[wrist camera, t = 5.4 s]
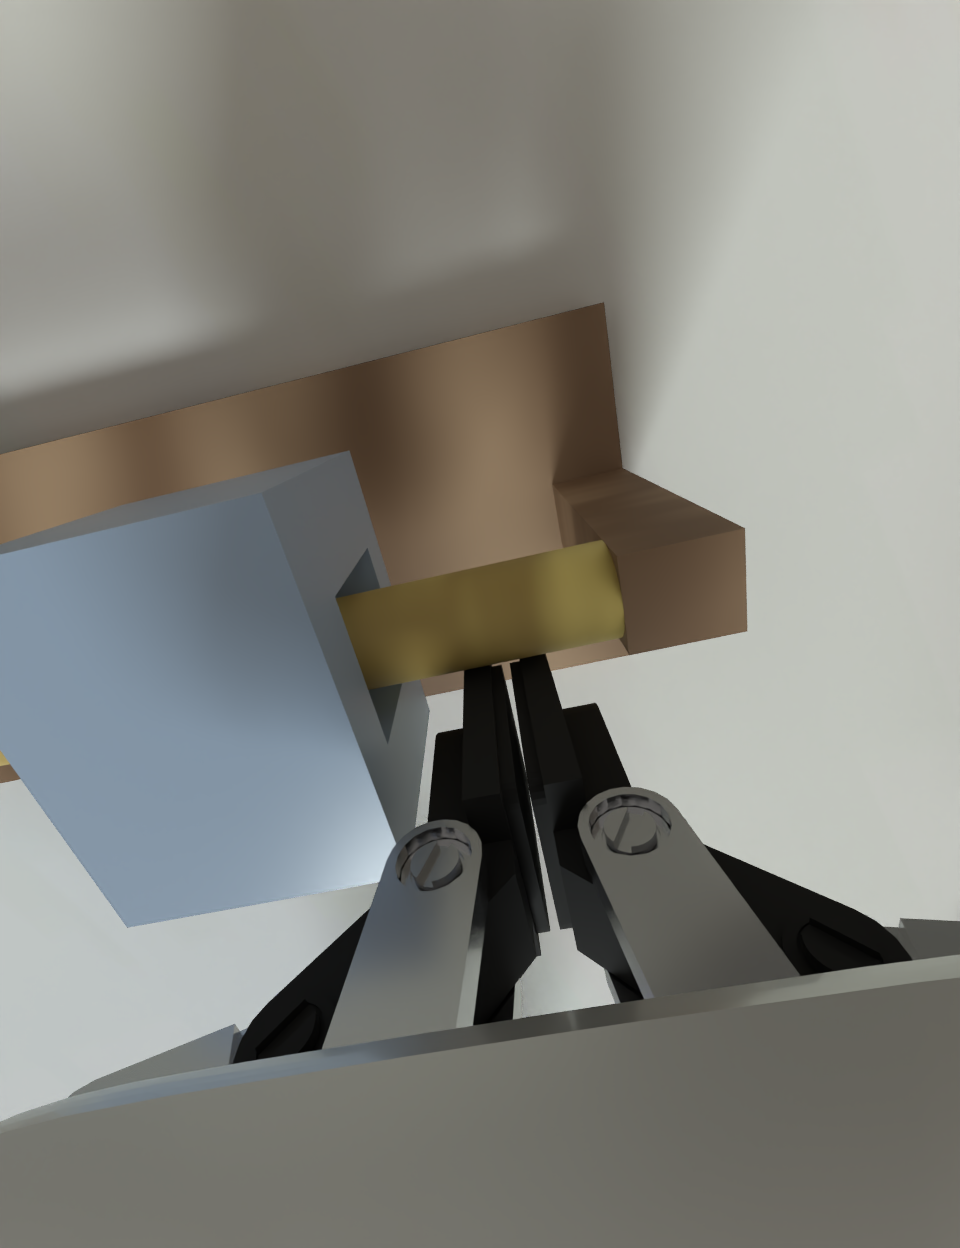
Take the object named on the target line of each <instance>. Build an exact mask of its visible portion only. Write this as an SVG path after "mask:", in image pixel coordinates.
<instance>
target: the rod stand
mask: <svg viewBox="0 0 960 1248" xmlns="http://www.w3.org/2000/svg"><path fill="white" fill-rule="evenodd" d="M345 451H350V454H351V457H352V460H353V464H354V467H355V470H356V473H357V477H358V480H359V483H360V486H361V490H362V493H363V496H364V499H365V503H366V506H367V509H368V512H369V516H370V519H371V522H372V525H373V529H374V532H375V535H376V538H377V542H378V545H379V548H380V551H381V554H382V558H383V561H384V564H385V567H386V571H387V574H388V577H389V580H390V584H391V586H389V587H384V588H380V589H375V590H371V591H366V592H362V593H357V594H353V595H348V596H343V597H339V598H336V601H337V604H338V607H339V609H340V612H341V615H342V618H343V621H344V623H345V626H346V629H347V632H348V635H349V637H350V640H351V643H352V646H353V649H354V652H355V654H356V657H357V660H358V663H359V666H360V668H361V671H362V674H363V677H364V680H365V682H366V685H367V688H368V690H371V689H376V688H381V687H386V686H391V685H396V684H401V683H405V682H410V681H415V680H420V681H421V684H422V688H423V691H424V694H425V697H426V696H431V695H435V694H440V693H445V692H450V691H455V690H460V689H464V670H468V669H473V668H478V667H483V666H488V665H492V666H497V665H502V668H503V672H504V677H505V680H509V679H512V676H511V669H510V663H512V662H517V661H520V660H519V659H522V658H526V657H531V656H536V655H541V654H546V656H547V660H548V663H549V667H550V670H551V671H553V670H558V669H563V668H568V667H573V666H578V665H583V664H587V663H592V662H597V661H602V660H607V659H612V658H617V657H622V656H627V655H633V654H637V653H642V652H647V651H652V650H657V649H662V648H667V647H672V646H677V645H682V644H687V643H691V642H696V641H701V640H706V639H711V638H716V637H721V636H726V635H731V634H736V633H740V632H745V631H747V599H746V555H745V528H743V527H741V526H739V525H737V524H735V523H733V522H731V521H729V520H727V519H725V518H723V517H721V516H719V515H717V514H715V513H713V512H711V511H709V510H707V509H705V508H703V507H700V506H698V505H696V504H694V503H692V502H690V501H688V500H686V499H684V498H682V497H680V496H678V495H676V494H674V493H672V492H670V491H668V490H666V489H664V488H662V487H660V486H658V485H656V484H654V483H652V482H650V481H648V480H646V479H644V478H641V477H639V476H637V475H635V474H633V473H631V472H629V471H627V470H625V469H623V468H622V459H621V450H620V441H619V432H618V423H617V414H616V406H615V397H614V388H613V379H612V370H611V361H610V352H609V343H608V334H607V325H606V316H605V307H604V302H603V303H599V304H595V305H592V306H588V307H584V308H580V309H576V310H572V311H568V312H564V313H560V314H556V315H552V316H548V317H544V318H540V319H536V320H532V321H528V322H524V323H520V324H516V325H512V326H508V327H504V328H500V329H496V330H492V331H488V332H484V333H480V334H476V335H472V336H468V337H464V338H460V339H457V340H453V341H449V342H445V343H441V344H437V345H433V346H429V347H425V348H421V349H417V350H413V351H409V352H405V353H401V354H397V355H393V356H389V357H385V358H381V359H377V360H373V361H369V362H365V363H361V364H357V365H353V366H349V367H345V368H341V369H337V370H333V371H329V372H325V373H321V374H318V375H314V376H310V377H306V378H302V379H298V380H294V381H290V382H286V383H282V384H278V385H274V386H270V387H266V388H262V389H258V390H254V391H250V392H246V393H242V394H238V395H234V396H230V397H226V398H222V399H218V400H214V401H210V402H206V403H202V404H198V405H194V406H190V407H186V408H182V409H179V410H175V411H171V412H167V413H163V414H159V415H155V416H151V417H147V418H143V419H139V420H135V421H131V422H127V423H123V424H119V425H115V426H111V427H107V428H103V429H99V430H95V431H91V432H87V433H83V434H79V435H75V436H71V437H67V438H63V439H59V440H55V441H51V442H47V443H43V444H40V445H36V446H32V447H28V448H24V449H20V450H16V451H12V452H8V453H4V454H0V544H3V543H6V542H9V541H12V540H15V539H18V538H22V537H25V536H28V535H31V534H34V533H37V532H40V531H43V530H46V529H49V528H53V527H56V526H59V525H62V524H65V523H68V522H71V521H74V520H77V519H80V518H84V517H87V516H90V515H93V514H96V513H99V512H102V511H105V510H108V509H111V508H114V507H118V506H121V505H124V504H129V503H133V502H137V501H141V500H145V499H149V498H154V497H158V496H162V495H166V494H170V493H174V492H179V491H183V490H187V489H191V488H195V487H199V486H204V485H208V484H212V483H216V482H220V481H224V480H229V479H233V478H237V477H241V476H245V475H249V474H253V473H258V472H262V471H266V470H270V469H274V468H278V467H283V466H287V465H291V464H295V463H299V462H303V461H308V460H312V459H316V458H320V457H324V456H328V455H333V454H337V453H341V452H345ZM19 779H20V777H19V776H18V774H17V773H16V772H15V770H14V769H13V767H12V766H11V765H10V763H9V762H8V760H7V759H6V758H5V756H4V755H3V753H2V752H1V751H0V783H4V782H9V781H14V780H19Z"/></svg>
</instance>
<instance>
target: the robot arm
mask: <svg viewBox="0 0 960 1248" xmlns="http://www.w3.org/2000/svg"><path fill="white" fill-rule="evenodd" d="M519 660H520V661H517V662H512V663H510V669H511V676H512V682H513V689H514V696H515V702H516V709H517V715H518V722H519V729H520V735H521V742H522V748H523V755H524V762H525V766H524V762H523V757H522V753H521V748H520V744H519V739H518V735H517V730H516V726H515V721H514V717H513V712H512V708H511V704H510V699H509V695H508V690H507V686H506V681H505V677H504V672H503V668H502V665H497V666H492V665H488V666H483V667H478V668H473V669H468V670H464V700H463V728H462V729H457V730H451V731H446V732H441V733H438V734H437V735H436V740H435V750H434V761H433V771H432V782H431V792H430V803H429V814H428V823H426V824H423V825H421V826H419V827H416V828H414V829H413V830H412V831H410V832H409V833H407V834H406V835H404V836H403V837H402V838H401V839H400V840H399V842H398V843H397V844H396V845H395V846H394V847H393V849H392V851H391V853H390V855H389V857H388V858H387V861H386V864H385V867H384V870H383V873H382V875H381V878H380V881H379V884H378V887H377V890H376V893H375V896H374V899H373V902H372V905H371V907H370V909H369V910H368V911H366V912H365V913H364V914H363V915H362V916H361V917H360V918H359V919H358V920H357V921H356V922H355V923H354V924H352V925H351V926H350V927H349V928H348V929H347V930H346V931H345V932H344V933H343V934H342V935H341V936H340V937H339V938H337V939H336V940H335V941H334V942H333V943H332V944H331V945H330V946H329V947H328V948H327V949H326V950H325V951H323V952H322V953H321V954H320V955H319V956H318V957H317V958H316V959H315V960H314V961H313V962H312V963H311V964H309V965H308V966H307V967H306V968H305V969H304V970H303V971H302V972H301V973H300V974H299V975H298V976H297V977H296V978H294V979H293V980H292V981H291V982H290V983H289V984H288V985H287V986H286V987H285V988H284V989H283V990H282V991H280V992H279V993H278V994H277V995H276V996H275V997H274V998H273V999H272V1000H271V1001H270V1002H269V1003H268V1004H267V1005H266V1006H265V1007H264V1008H263V1009H262V1010H261V1011H260V1013H259V1014H258V1015H257V1016H256V1017H255V1018H254V1019H253V1020H252V1022H251V1024H250V1025H249V1027H248V1028H247V1029H244V1030H242V1031H239V1029H238V1028H237V1026H236V1025H235V1024H233V1025H231V1026H228V1027H226V1028H223V1029H221V1030H218V1031H216V1032H213V1033H211V1034H208V1035H206V1036H203V1037H201V1038H198V1039H196V1040H193V1041H191V1042H188V1043H186V1044H183V1045H181V1046H178V1047H176V1048H173V1049H171V1050H168V1051H166V1052H164V1053H161V1054H159V1055H156V1056H154V1057H151V1058H149V1059H146V1060H144V1061H141V1062H139V1063H136V1064H134V1065H131V1066H129V1067H126V1068H124V1069H121V1070H119V1071H116V1072H114V1073H111V1074H109V1075H106V1076H104V1077H101V1078H99V1079H96V1080H94V1081H92V1082H91V1083H89V1084H87V1085H85V1086H84V1087H82V1088H80V1089H78V1090H77V1091H75V1092H74V1093H72V1094H71V1095H70V1096H69V1097H68V1098H66V1099H63V1100H60V1101H57V1102H54V1103H51V1104H48V1105H45V1106H41V1107H38V1108H35V1109H32V1110H29V1111H26V1112H23V1113H20V1114H17V1115H15V1116H13V1117H10V1118H8V1119H6V1120H3V1121H1V1122H0V1248H960V921H944V920H924V919H904V918H900V922H899V928H898V927H883V926H881V925H880V924H879V923H878V922H877V921H875V920H873V919H871V918H869V917H868V916H866V915H864V914H862V913H860V912H858V911H857V910H855V909H853V908H850V907H848V906H846V905H843V904H841V903H839V902H836V901H834V900H832V899H829V898H827V897H825V896H822V895H820V894H818V893H815V892H813V891H811V890H808V889H806V888H804V887H801V886H799V885H797V884H794V883H792V882H790V881H787V880H785V879H783V878H781V877H778V876H776V875H774V874H771V873H769V872H767V871H764V870H762V869H760V868H757V867H755V866H753V865H750V864H748V863H746V862H743V861H741V860H739V859H736V858H734V857H732V856H729V855H727V854H725V853H722V852H720V851H718V850H716V849H713V848H711V847H709V846H706V845H704V844H703V843H702V842H701V840H700V839H699V837H698V836H697V835H696V833H695V832H694V831H693V829H692V828H691V827H690V825H689V824H688V823H687V821H686V820H685V819H684V817H683V816H682V814H681V813H680V812H679V810H678V809H677V808H676V807H675V806H674V805H673V804H672V803H671V802H670V801H669V800H668V799H667V798H665V797H663V796H661V795H660V794H658V793H656V792H654V791H650V790H647V789H643V788H638V787H631V785H630V783H629V780H628V778H627V775H626V773H625V771H624V768H623V766H622V763H621V761H620V758H619V756H618V754H617V751H616V749H615V746H614V744H613V741H612V739H611V737H610V734H609V732H608V729H607V727H606V724H605V722H604V720H603V717H602V715H601V712H600V710H599V708H598V706H597V704H596V703H592V704H587V705H582V706H577V707H571V708H566V709H562V707H561V704H560V701H559V697H558V694H557V690H556V687H555V684H554V680H553V677H552V673H551V670H550V667H549V663H548V660H547V656H546V654H541V655H536V656H531V657H526V658H522V659H519ZM525 768H526V771H525ZM526 775H527V776H526ZM528 786H529V787H528ZM529 791H530V794H529ZM530 797H531V800H530ZM531 801H532V806H533V811H534V815H535V819H536V824H537V828H538V833H539V837H540V842H541V846H542V851H543V855H544V859H545V864H546V868H547V873H548V877H549V882H550V886H551V891H552V895H553V899H554V904H555V908H556V913H557V917H558V922H559V926H560V930H561V929H567V928H573V931H574V936H575V941H576V945H577V950H578V951H580V952H581V953H583V954H584V955H586V956H587V957H589V958H590V959H591V960H593V961H594V962H596V963H597V964H599V965H600V966H602V967H603V968H604V971H605V975H606V980H607V983H608V986H609V989H610V991H611V994H612V996H613V999H614V1001H615V1004H611V1005H604V1006H598V1007H591V1008H585V1009H578V1010H572V1011H565V1012H558V1013H552V1014H545V1015H539V1016H532V1017H526V1018H521V1017H522V997H523V995H522V985H521V979H520V978H521V976H522V975H523V974H524V972H525V971H526V970H527V968H528V967H529V966H530V965H531V963H532V962H533V961H534V959H535V958H536V957H537V956H541V950H540V942H539V935H538V933H542V932H548V931H550V926H549V919H548V912H547V906H546V899H545V893H544V886H543V879H542V873H541V866H540V860H539V853H538V846H537V840H536V833H535V827H534V820H533V814H532V807H531Z"/></svg>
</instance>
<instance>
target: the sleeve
mask: <svg viewBox="0 0 960 1248" xmlns="http://www.w3.org/2000/svg"><path fill="white" fill-rule="evenodd" d="M389 586H391V584H390V580H389V577H388V574H387V571H386V567H385V564H384V561H383V558H382V554H381V551H380V548H379V545H378V542H377V538H376V535H375V532H374V529H373V525H372V522H371V519H370V516H369V512H368V509H367V506H366V503H365V499H364V496H363V493H362V490H361V486H360V483H359V480H358V477H357V473H356V470H355V467H354V464H353V460H352V457H351V454H350V451H345V452H341V453H337V454H333V455H328V456H324V457H320V458H316V459H312V460H308V461H303V462H299V463H295V464H291V465H287V466H283V467H278V468H274V469H270V470H266V471H262V472H258V473H253V474H249V475H245V476H241V477H237V478H233V479H229V480H224V481H220V482H216V483H212V484H208V485H204V486H199V487H195V488H191V489H187V490H183V491H179V492H174V493H170V494H166V495H162V496H158V497H154V498H149V499H145V500H141V501H137V502H133V503H129V504H124V505H121V506H118V507H114V508H111V509H108V510H105V511H102V512H99V513H96V514H93V515H90V516H87V517H84V518H80V519H77V520H74V521H71V522H68V523H65V524H62V525H59V526H56V527H53V528H49V529H46V530H43V531H40V532H37V533H34V534H31V535H28V536H25V537H22V538H18V539H15V540H12V541H9V542H6V543H3V544H0V751H1V752H2V753H3V755H4V756H5V758H6V759H7V760H8V762H9V763H10V765H11V766H12V767H13V769H14V770H15V772H16V773H17V774H18V776H19V777H20V779H21V780H22V781H23V783H24V784H25V786H26V787H27V788H28V790H29V791H30V792H31V794H32V795H33V797H34V798H35V799H36V801H37V802H38V804H39V805H40V806H41V808H42V809H43V811H44V812H45V813H46V815H47V816H48V818H49V819H50V820H51V822H52V823H53V825H54V826H55V827H56V829H57V830H58V832H59V833H60V834H61V836H62V837H63V839H64V840H65V841H66V843H67V844H68V846H69V847H70V848H71V850H72V851H73V853H74V854H75V855H76V857H77V858H78V859H79V861H80V862H81V864H82V865H83V866H84V868H85V869H86V871H87V872H88V873H89V875H90V876H91V878H92V879H93V880H94V882H95V883H96V885H97V886H98V887H99V889H100V890H101V892H102V893H103V894H104V896H105V897H106V899H107V900H108V901H109V903H110V904H111V906H112V907H113V908H114V910H115V911H116V913H117V914H118V915H119V917H120V918H121V920H122V921H123V922H124V924H125V925H126V926H127V928H128V927H133V926H139V925H144V924H150V923H155V922H161V921H166V920H172V919H178V918H183V917H189V916H194V915H200V914H205V913H211V912H217V911H222V910H228V909H233V908H239V907H244V906H250V905H256V904H261V903H267V902H272V901H278V900H283V899H289V898H295V897H300V896H306V895H311V894H317V893H322V892H328V891H334V890H339V889H345V888H350V887H356V886H361V885H367V884H373V883H378V882H379V881H380V878H381V875H382V873H383V870H384V867H385V864H386V861H387V858H388V857H389V855H390V853H391V851H392V849H393V847H394V846H395V845H396V844H397V843H398V842H399V840H400V839H401V838H402V837H403V836H404V835H406V834H407V833H409V832H410V831H412V830H413V829H414V828H415V824H416V816H417V808H418V800H419V792H420V784H421V776H422V768H423V760H424V752H425V744H426V736H427V728H428V720H429V712H430V710H429V707H428V704H427V701H426V697H425V694H424V691H423V688H422V684H421V681H420V680H415V681H410V682H405V683H401V684H396V685H391V686H386V687H381V688H376V689H371V690H368V688H367V685H366V682H365V680H364V677H363V674H362V671H361V668H360V666H359V663H358V660H357V657H356V654H355V652H354V649H353V646H352V643H351V640H350V637H349V635H348V632H347V629H346V626H345V623H344V621H343V618H342V615H341V612H340V609H339V607H338V604H337V601H336V598H339V597H343V596H348V595H353V594H357V593H362V592H366V591H371V590H375V589H380V588H384V587H389Z"/></svg>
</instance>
